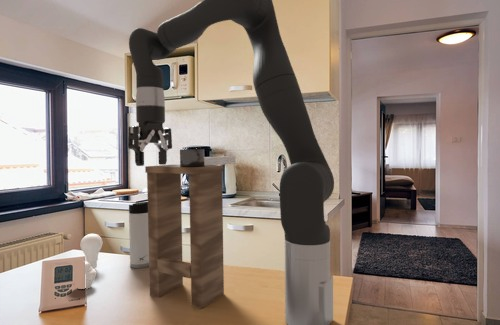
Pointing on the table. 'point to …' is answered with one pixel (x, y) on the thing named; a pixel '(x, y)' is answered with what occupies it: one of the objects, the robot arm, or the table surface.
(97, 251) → the lightbulb
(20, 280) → the table surface
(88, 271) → the white ridged dome
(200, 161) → the steel link
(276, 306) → the table surface
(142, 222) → the travel mug
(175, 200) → the shelf
